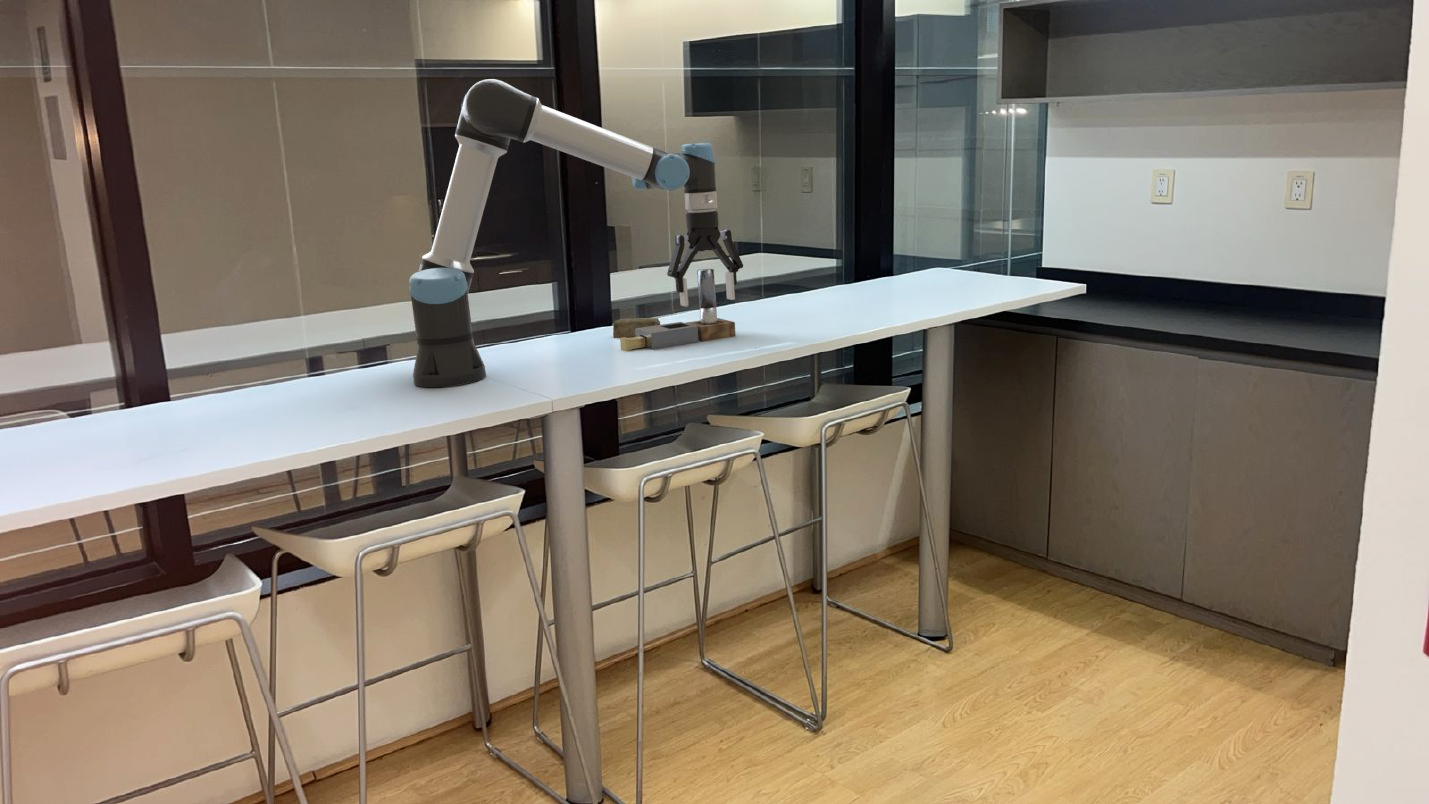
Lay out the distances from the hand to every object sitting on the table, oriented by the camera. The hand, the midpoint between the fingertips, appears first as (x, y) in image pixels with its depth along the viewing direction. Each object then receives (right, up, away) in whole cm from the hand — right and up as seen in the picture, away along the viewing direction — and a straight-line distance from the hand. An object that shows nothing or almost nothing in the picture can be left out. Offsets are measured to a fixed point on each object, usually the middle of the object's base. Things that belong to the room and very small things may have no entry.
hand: (707, 302), depth 253 cm
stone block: (-18, -8, +11) cm, 22 cm away
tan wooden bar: (-16, -11, -6) cm, 20 cm away
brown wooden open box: (+1, -9, +2) cm, 9 cm away
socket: (-10, -11, -3) cm, 14 cm away
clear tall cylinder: (0, -8, +2) cm, 8 cm away
